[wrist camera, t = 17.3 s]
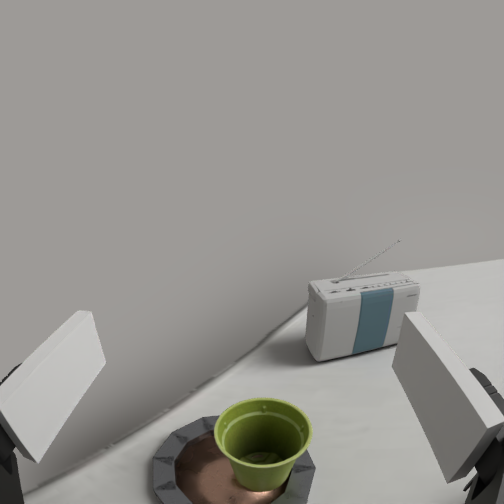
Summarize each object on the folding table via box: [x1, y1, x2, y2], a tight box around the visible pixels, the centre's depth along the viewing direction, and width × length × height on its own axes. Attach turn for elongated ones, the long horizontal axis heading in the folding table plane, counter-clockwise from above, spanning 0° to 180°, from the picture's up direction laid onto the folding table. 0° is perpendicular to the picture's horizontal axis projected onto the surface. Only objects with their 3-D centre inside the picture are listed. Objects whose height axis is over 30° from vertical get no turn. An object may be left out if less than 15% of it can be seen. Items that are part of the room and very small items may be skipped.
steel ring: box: [153, 416, 316, 504], centre depth 28 cm, size 18×18×2 cm
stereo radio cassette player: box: [305, 239, 420, 361], centre depth 52 cm, size 21×8×20 cm, turn 102°
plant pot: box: [214, 398, 313, 492], centre depth 27 cm, size 9×9×9 cm
